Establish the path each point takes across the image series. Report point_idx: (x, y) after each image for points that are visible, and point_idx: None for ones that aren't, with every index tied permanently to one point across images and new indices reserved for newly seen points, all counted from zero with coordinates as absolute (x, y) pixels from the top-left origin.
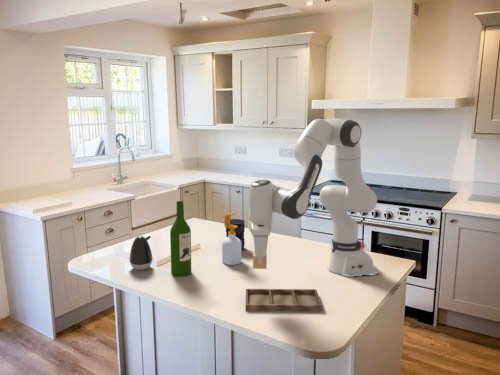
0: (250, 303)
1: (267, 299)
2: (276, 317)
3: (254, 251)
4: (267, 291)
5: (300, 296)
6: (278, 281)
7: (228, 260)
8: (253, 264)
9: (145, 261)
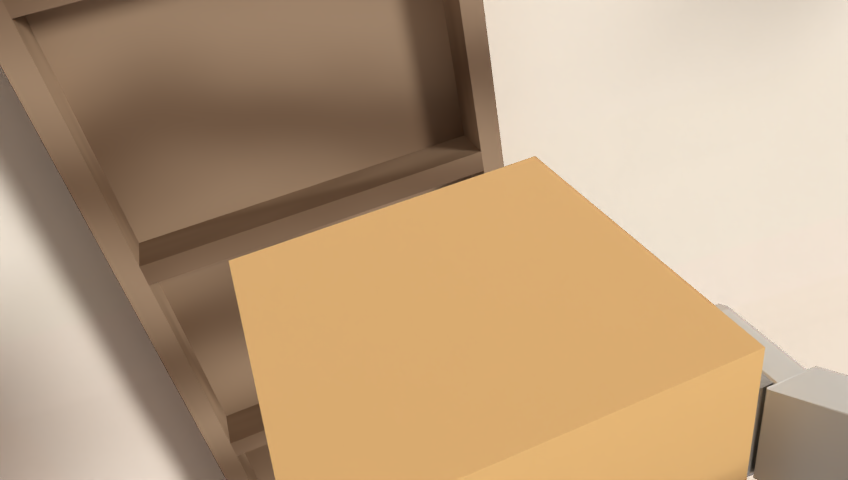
0: (164, 7)
1: (328, 162)
2: (3, 330)
3: (741, 393)
4: (471, 132)
5: None
6: (735, 136)
7: None
8: (250, 334)
9: None
